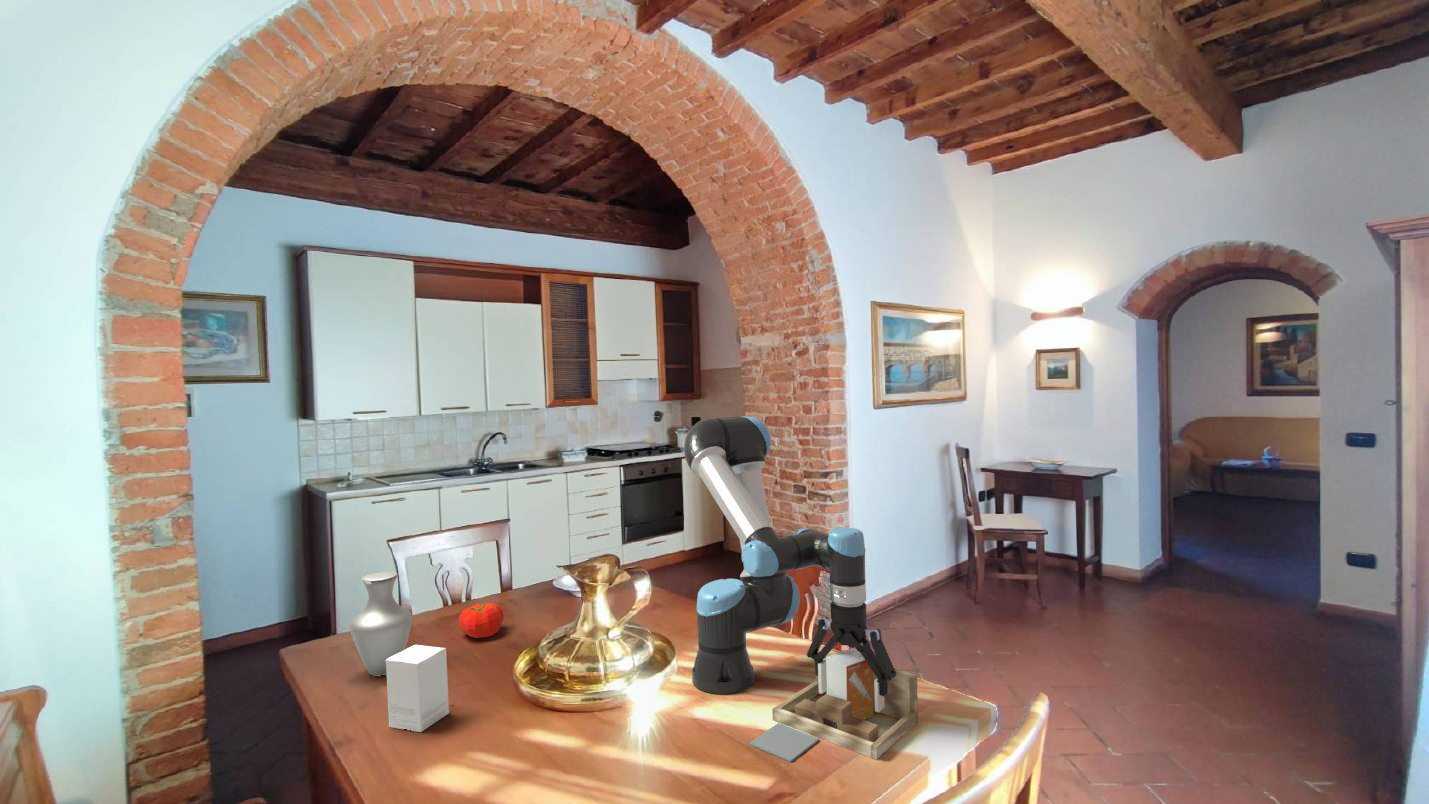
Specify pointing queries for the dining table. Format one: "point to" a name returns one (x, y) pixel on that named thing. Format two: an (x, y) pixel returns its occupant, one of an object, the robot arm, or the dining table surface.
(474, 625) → the tomato
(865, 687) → the small box
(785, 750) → the mat
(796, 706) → the offcut
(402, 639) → the vase
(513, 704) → the dining table surface
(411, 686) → the supplement box
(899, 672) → the tray
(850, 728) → the offcut
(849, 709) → the offcut
